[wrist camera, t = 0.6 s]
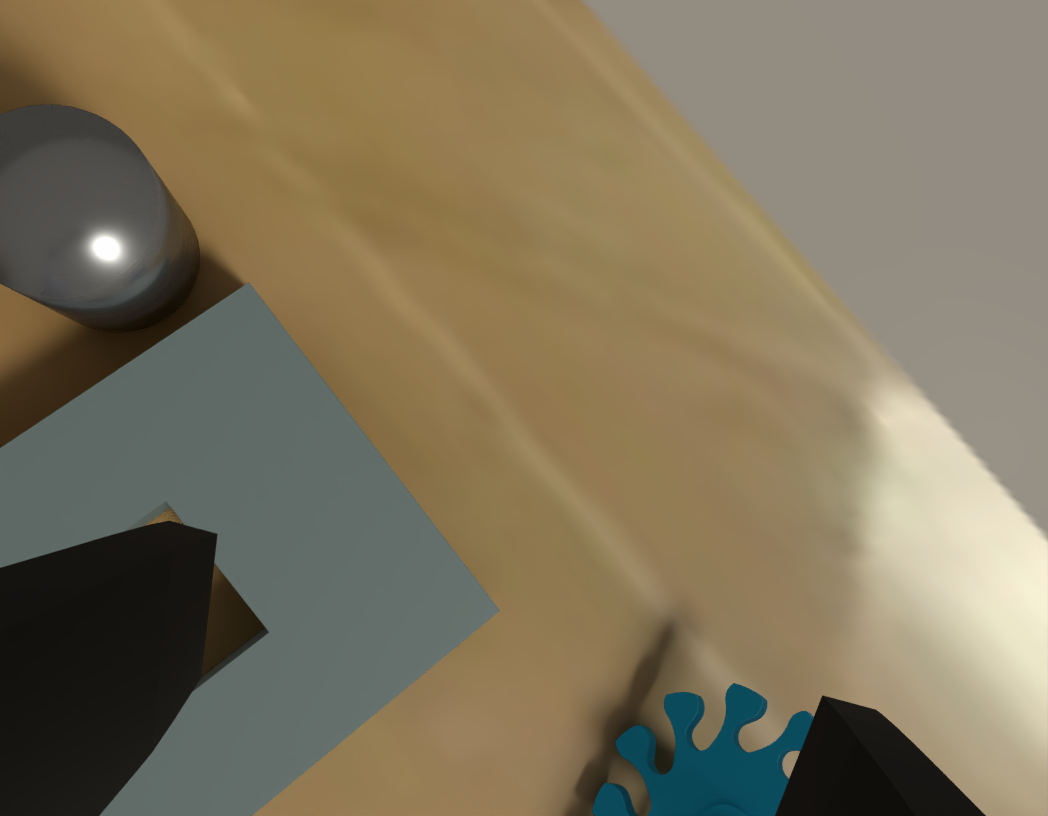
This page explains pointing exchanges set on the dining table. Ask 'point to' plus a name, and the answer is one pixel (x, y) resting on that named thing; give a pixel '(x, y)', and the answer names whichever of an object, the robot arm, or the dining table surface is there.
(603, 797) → the teal spiky virus toy
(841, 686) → the dining table surface
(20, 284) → the gunmetal plug
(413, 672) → the socket plate
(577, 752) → the dining table surface
